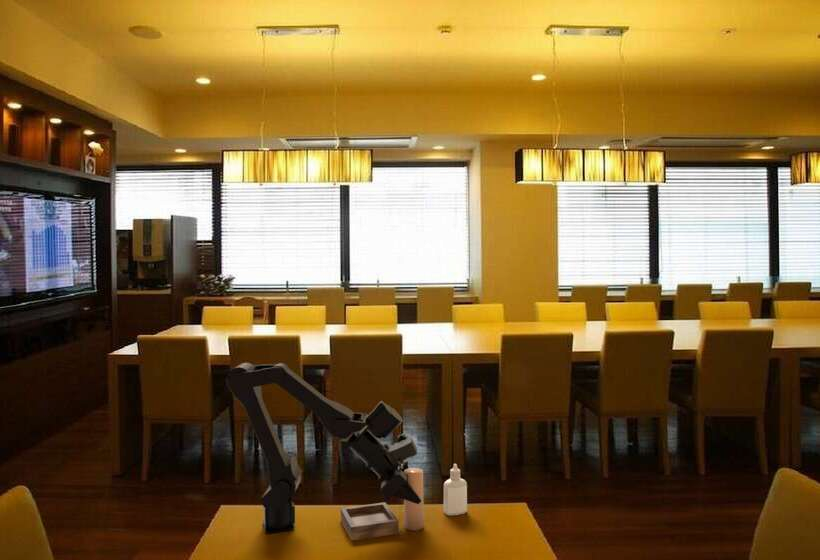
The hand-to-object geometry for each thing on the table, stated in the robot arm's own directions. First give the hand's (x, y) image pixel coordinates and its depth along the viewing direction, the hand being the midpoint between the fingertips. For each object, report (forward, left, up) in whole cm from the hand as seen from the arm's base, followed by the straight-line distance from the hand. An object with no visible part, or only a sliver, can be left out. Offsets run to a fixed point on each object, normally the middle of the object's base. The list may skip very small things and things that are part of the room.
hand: (419, 498), depth 147 cm
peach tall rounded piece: (-1, 0, -7) cm, 7 cm away
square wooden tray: (-11, +3, -7) cm, 14 cm away
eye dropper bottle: (+11, +4, -7) cm, 13 cm away
